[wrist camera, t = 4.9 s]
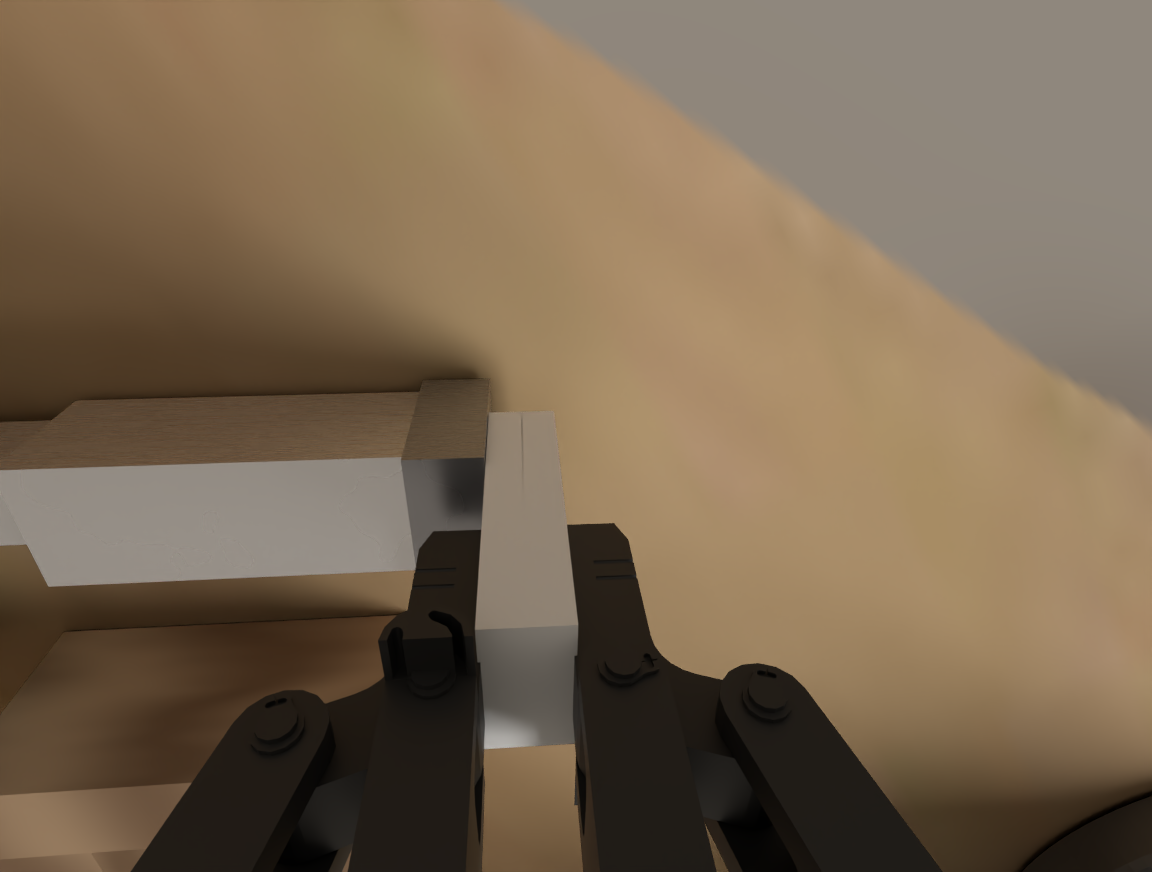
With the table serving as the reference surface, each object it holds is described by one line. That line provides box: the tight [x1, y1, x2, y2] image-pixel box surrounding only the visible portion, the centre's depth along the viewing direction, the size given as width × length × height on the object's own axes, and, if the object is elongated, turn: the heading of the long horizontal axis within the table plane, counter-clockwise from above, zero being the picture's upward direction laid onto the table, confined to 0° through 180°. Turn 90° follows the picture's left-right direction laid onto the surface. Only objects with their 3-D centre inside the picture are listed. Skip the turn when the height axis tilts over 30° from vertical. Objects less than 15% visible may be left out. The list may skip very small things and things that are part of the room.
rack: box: [0, 615, 397, 872], centre depth 20 cm, size 10×10×5 cm
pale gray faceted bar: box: [0, 379, 492, 587], centre depth 15 cm, size 14×4×4 cm, turn 89°
